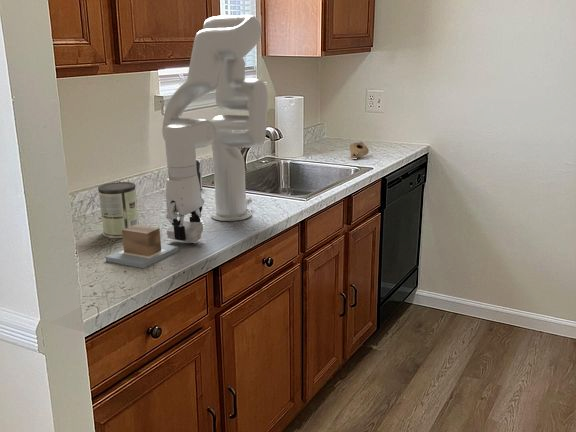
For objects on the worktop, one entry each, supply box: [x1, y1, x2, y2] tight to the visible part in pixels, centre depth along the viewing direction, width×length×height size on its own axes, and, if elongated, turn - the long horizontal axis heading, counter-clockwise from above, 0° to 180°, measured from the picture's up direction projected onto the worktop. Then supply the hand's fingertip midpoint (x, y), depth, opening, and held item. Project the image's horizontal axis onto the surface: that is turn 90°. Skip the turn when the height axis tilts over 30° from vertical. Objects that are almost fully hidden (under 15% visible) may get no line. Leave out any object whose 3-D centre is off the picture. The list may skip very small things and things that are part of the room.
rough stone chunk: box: [166, 220, 204, 244], centre depth 164 cm, size 10×6×6 cm, turn 57°
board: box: [105, 243, 179, 269], centre depth 155 cm, size 14×12×1 cm
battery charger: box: [196, 158, 203, 190], centre depth 224 cm, size 7×4×11 cm, turn 67°
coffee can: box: [97, 181, 140, 239], centre depth 172 cm, size 10×10×14 cm
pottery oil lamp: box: [349, 141, 370, 159], centre depth 279 cm, size 9×12×7 cm
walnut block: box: [122, 224, 162, 256], centre depth 154 cm, size 5×8×6 cm, turn 63°
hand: (188, 234), depth 163 cm, fingers closed on rough stone chunk, 6 cm apart
